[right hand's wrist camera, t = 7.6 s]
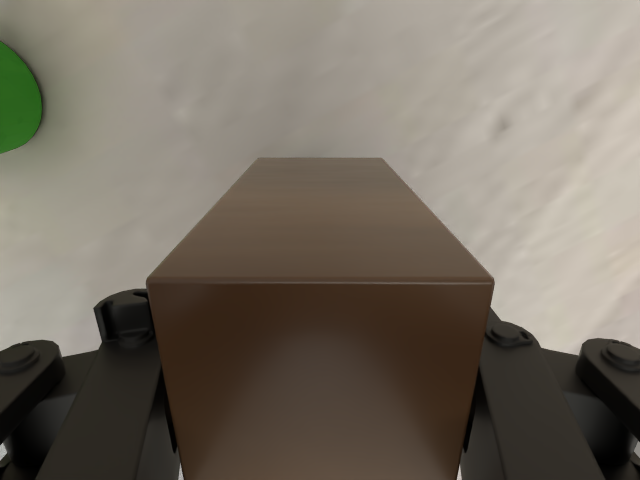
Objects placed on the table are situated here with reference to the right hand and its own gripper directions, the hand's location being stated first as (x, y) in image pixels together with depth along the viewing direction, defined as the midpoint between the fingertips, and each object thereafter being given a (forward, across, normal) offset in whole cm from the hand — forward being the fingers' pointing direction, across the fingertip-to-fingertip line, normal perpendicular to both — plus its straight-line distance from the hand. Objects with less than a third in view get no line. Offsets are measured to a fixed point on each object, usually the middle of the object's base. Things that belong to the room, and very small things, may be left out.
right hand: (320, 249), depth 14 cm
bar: (+1, 0, -10) cm, 10 cm away
